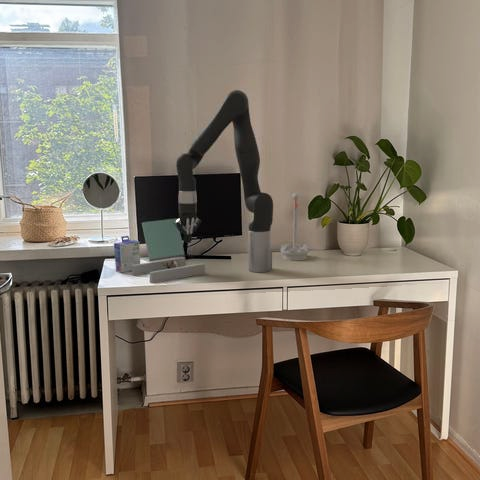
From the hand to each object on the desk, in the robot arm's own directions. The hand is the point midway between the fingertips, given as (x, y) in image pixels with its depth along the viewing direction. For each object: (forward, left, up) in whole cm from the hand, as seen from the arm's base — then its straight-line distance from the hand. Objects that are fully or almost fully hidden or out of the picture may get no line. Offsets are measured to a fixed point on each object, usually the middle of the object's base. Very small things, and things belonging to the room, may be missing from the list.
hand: (188, 242), depth 262 cm
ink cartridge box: (+20, -17, -12) cm, 29 cm away
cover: (+6, -10, 0) cm, 12 cm away
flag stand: (-52, +9, -12) cm, 55 cm away
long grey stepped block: (+10, 0, -12) cm, 16 cm away
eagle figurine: (+8, +1, -13) cm, 15 cm away
